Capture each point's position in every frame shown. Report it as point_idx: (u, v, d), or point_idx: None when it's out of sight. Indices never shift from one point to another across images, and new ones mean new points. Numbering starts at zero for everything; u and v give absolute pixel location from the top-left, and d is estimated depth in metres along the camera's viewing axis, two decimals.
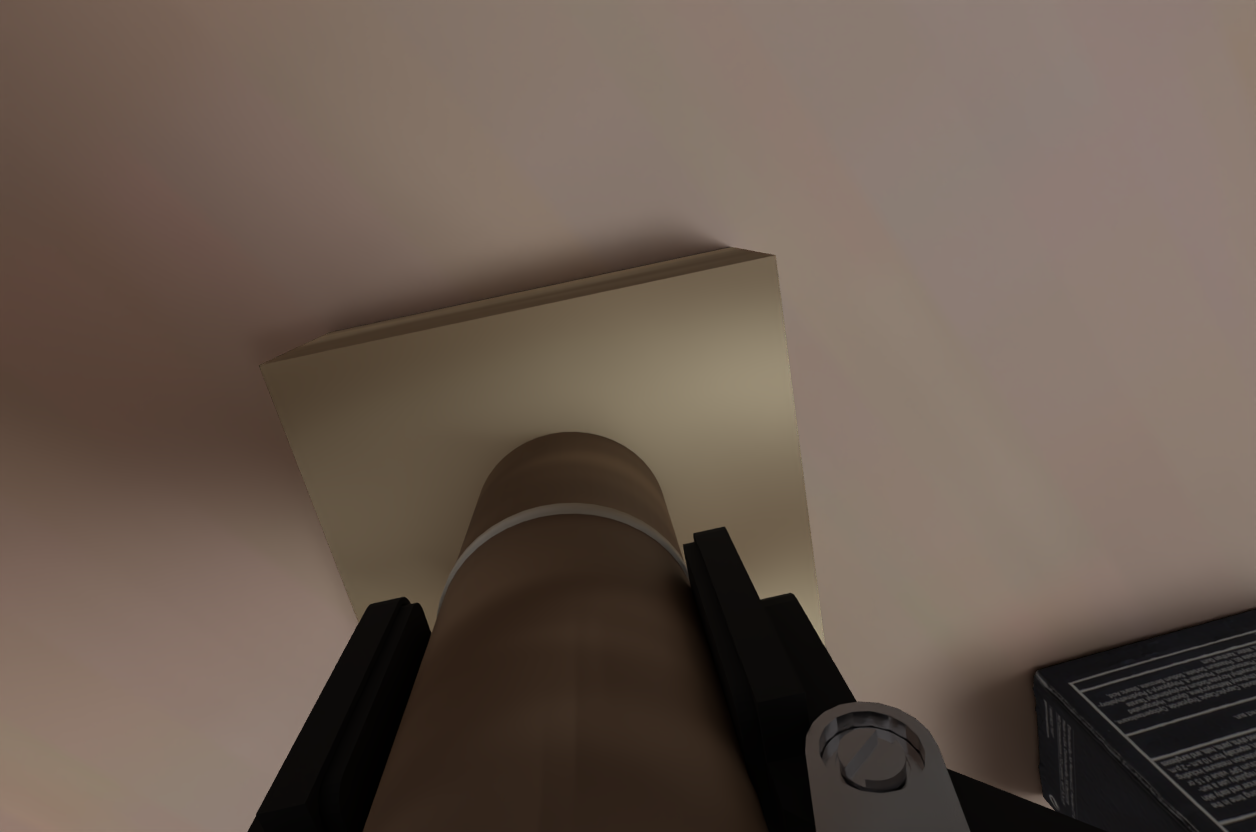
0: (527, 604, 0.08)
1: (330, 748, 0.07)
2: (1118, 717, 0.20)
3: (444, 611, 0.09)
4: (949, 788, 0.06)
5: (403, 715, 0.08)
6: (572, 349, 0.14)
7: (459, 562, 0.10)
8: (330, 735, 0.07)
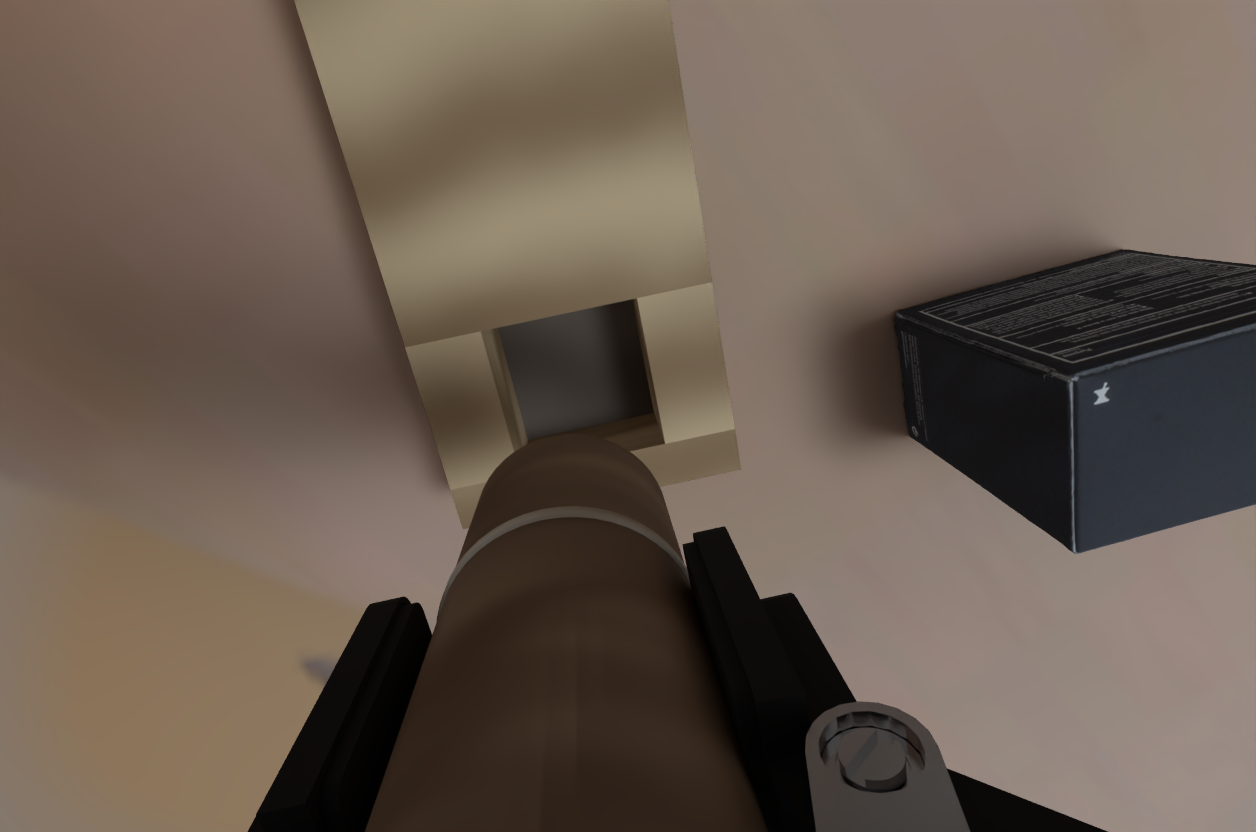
0: (527, 608, 0.08)
1: (332, 747, 0.07)
2: (949, 316, 0.25)
3: (444, 615, 0.09)
4: (949, 788, 0.06)
5: (403, 720, 0.08)
6: None
7: (459, 566, 0.10)
8: (330, 735, 0.07)
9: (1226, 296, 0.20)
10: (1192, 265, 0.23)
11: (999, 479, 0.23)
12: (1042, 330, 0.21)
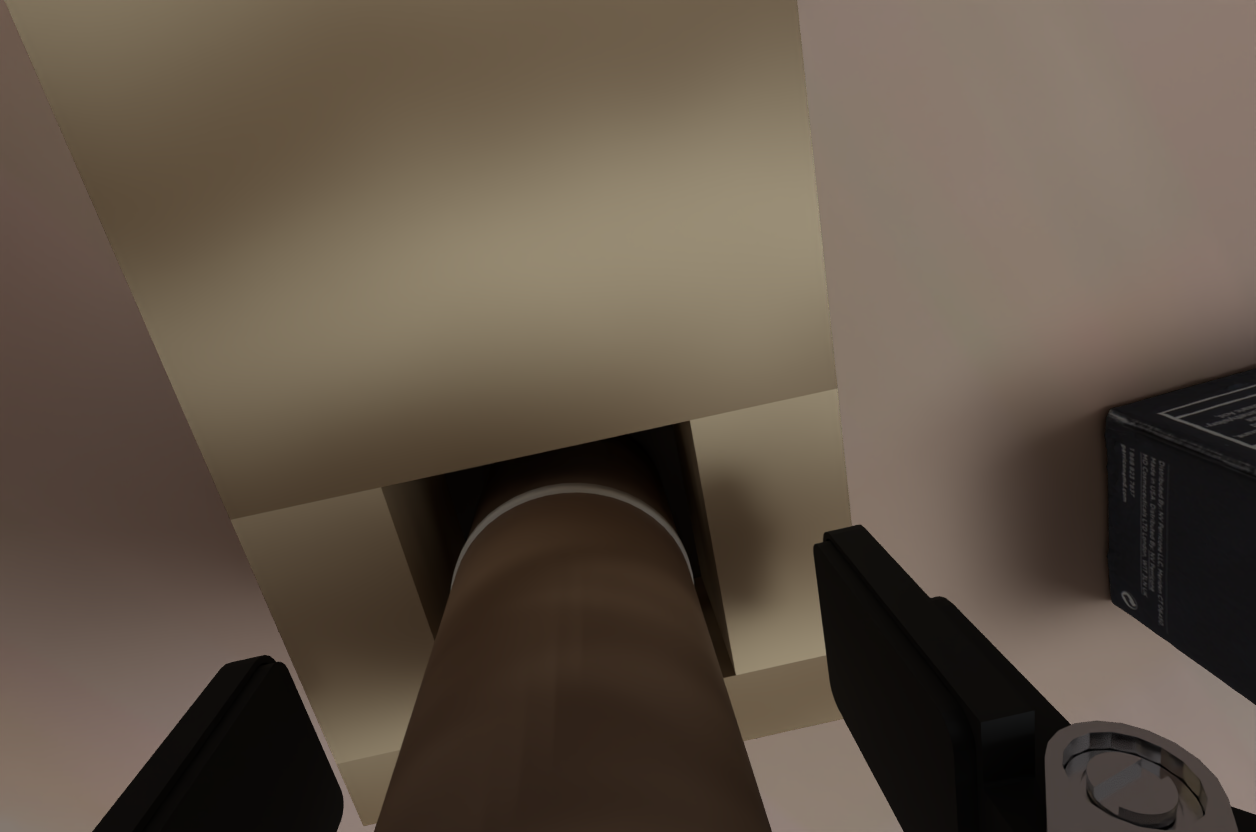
0: (537, 571, 0.09)
1: None
2: (1239, 432, 0.14)
3: (460, 580, 0.10)
4: None
5: (426, 669, 0.09)
6: None
7: (471, 537, 0.11)
8: None
9: None
10: None
11: None
12: None
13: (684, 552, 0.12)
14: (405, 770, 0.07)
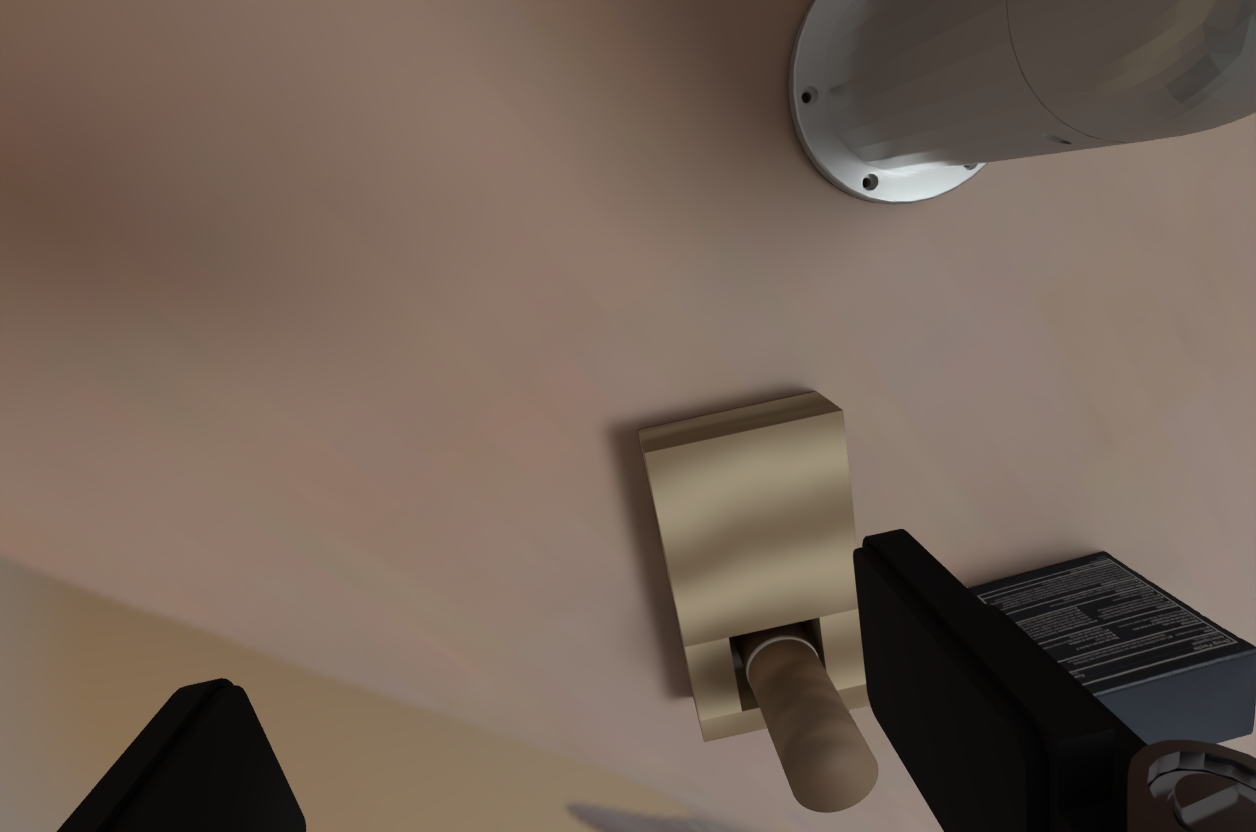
0: (793, 667, 0.36)
1: None
2: None
3: (763, 666, 0.37)
4: None
5: (767, 691, 0.36)
6: (762, 445, 0.35)
7: (756, 651, 0.39)
8: None
9: (1158, 637, 0.36)
10: (1143, 589, 0.40)
11: None
12: (1057, 644, 0.38)
13: (817, 655, 0.39)
14: (784, 713, 0.34)
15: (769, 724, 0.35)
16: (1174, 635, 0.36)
